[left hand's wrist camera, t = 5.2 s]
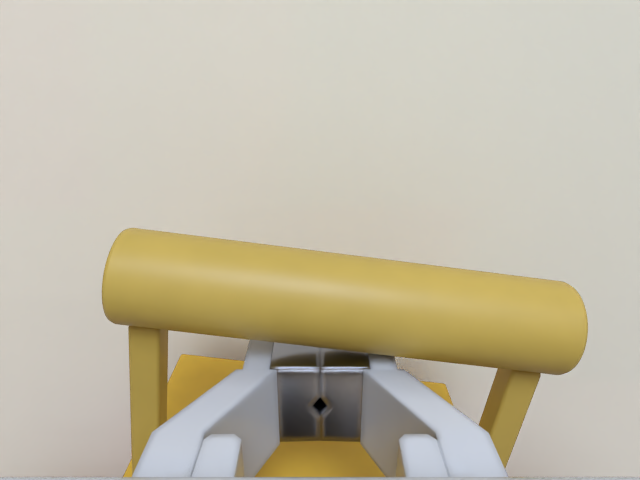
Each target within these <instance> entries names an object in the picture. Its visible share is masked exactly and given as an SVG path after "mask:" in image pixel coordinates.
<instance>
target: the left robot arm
mask: <svg viewBox="0 0 640 480" xmlns="http://www.w3.org/2000/svg"><path fill="white" fill-rule="evenodd" d="M295 441H345V442H360V444H361V445H362V447H363V448H364V449H365V451H366V452H367V453H368V454H369V456H370V457H371V458H372V460H373V461H374V462H375V464H376V465H377V466H378V467H379V469H380V470H381V471H382V473H383V474H384V475H385V477H255V476H256V474H257V473H258V472H259V470H260V469H261V468H262V467H263V465H264V464H265V463H266V461H267V460H268V459H269V457H270V456H271V455H272V454H273V452H274V451H275V450H276V448H277V447H278V446H279V445H280V442H295ZM0 480H640V477H508V475H507V473H506V470H505V468H504V466H503V464H502V461H501V459H500V457H499V455H498V453H497V450H496V448H495V446H494V444H493V441H492V439H491V437H490V435H489V433H488V432H487V431H486V430H484V429H483V428H482V427H480V426H479V425H478V424H476V423H475V422H474V421H472V420H471V419H470V418H468V417H467V416H466V415H464V414H463V413H462V412H460V411H459V410H457V409H456V408H455V407H453V406H452V405H451V404H449V403H448V402H447V401H445V400H444V399H443V398H441V397H440V396H439V395H437V394H436V393H435V392H433V391H432V390H431V389H429V388H428V387H427V386H425V385H424V384H423V383H421V382H420V381H419V380H417V379H416V378H415V377H413V376H412V375H411V374H409V373H408V372H407V371H405V370H404V369H397V365H396V361H395V357H394V356H389V355H380V354H371V353H363V352H354V351H345V350H337V349H328V348H319V347H311V346H302V345H293V344H285V343H276V342H267V341H259V340H250V341H249V345H248V349H247V353H246V357H245V361H244V365H243V369H236V370H235V371H233V372H232V373H231V374H229V375H228V376H227V377H225V378H224V379H223V380H221V381H220V382H219V383H217V384H216V385H215V386H213V387H212V388H210V389H209V390H208V391H206V392H205V393H204V394H202V395H201V396H200V397H198V398H197V399H196V400H194V401H193V402H192V403H190V404H189V405H188V406H186V407H185V408H184V409H182V410H181V411H180V412H178V413H177V414H176V415H174V416H173V417H172V418H170V419H169V420H168V421H166V422H165V423H163V424H162V425H161V426H159V427H158V428H157V429H155V430H154V431H153V432H152V433H151V435H150V437H149V440H148V442H147V444H146V446H145V448H144V451H143V453H142V455H141V457H140V459H139V462H138V464H137V466H136V468H135V470H134V473H133V475H132V477H0Z"/></svg>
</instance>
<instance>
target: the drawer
mask: <svg viewBox="0 0 640 480" xmlns="http://www.w3.org/2000/svg"><path fill="white" fill-rule="evenodd" d="M102 303H103V309H104V313H105V315H106V317H107V318H108V320H109V321H111V322H113V323H115V324H120V325H129V365H130V405H131V444H132V459H131V461H130V463H129V465H128V467H127V469H126V472H125V474H124V476H123V477H132V475H133V473H134V470H135V468H136V466H137V464H138V462H139V459H140V457H141V455H142V453H143V451H144V448H145V446H146V444H147V442H148V440H149V437H150V435H151V433H152V432H153V431H154V430H155V429H157V428H158V427H159V426H161V425H162V424H163V423H165V422H166V421H168V420H169V419H170V418H172V417H173V416H174V415H176V414H177V413H178V412H180V411H181V410H182V409H184V408H185V407H186V406H188V405H189V404H190V403H192V402H193V401H194V400H196V399H197V398H198V397H200V396H201V395H202V394H204V393H205V392H206V391H208V390H209V389H210V388H212V387H213V386H215V385H216V384H217V383H219V382H220V381H221V380H223V379H224V378H225V377H227V376H228V375H229V374H231V373H232V372H233V371H235V370H236V369H243V365H244V361H239V360H230V359H221V358H212V357H204V356H195V355H186V354H182V355H181V356H180V358H179V360H178V362H177V364H176V367H175V369H174V371H173V373H172V375H171V377H170V379H169V381H168V383H167V367H168V330H172V331H181V332H189V333H198V334H207V335H215V336H224V337H233V338H241V339H250V340H259V341H267V342H276V343H285V344H293V345H302V346H311V347H319V348H328V349H337V350H345V351H354V352H363V353H371V354H380V355H389V356H397V357H406V358H415V359H423V360H432V361H441V362H449V363H458V364H467V365H476V366H484V367H493V368H498V370H497V373H496V376H495V379H494V381H493V384H492V387H491V390H490V393H489V396H488V399H487V402H486V405H485V408H484V411H483V414H482V417H481V420H480V423H479V426H480V427H482V428H483V429H484V430H486V431H487V432H488V433H489V435H490V437H491V439H492V441H493V444H494V446H495V448H496V450H497V453H498V455H499V457H500V459H501V461H502V464H503V466H504V468H505V467H506V465H507V462H508V460H509V457H510V454H511V452H512V449H513V447H514V444H515V441H516V439H517V436H518V433H519V431H520V428H521V426H522V423H523V420H524V418H525V415H526V413H527V410H528V407H529V405H530V402H531V399H532V397H533V394H534V392H535V389H536V386H537V384H538V381H539V379H540V373H545V374H554V375H561V374H564V373H567V372H569V371H571V370H572V369H573V368H574V367H575V366H576V365H577V364H578V362H579V361H580V359H581V357H582V355H583V352H584V350H585V346H586V341H587V333H588V322H587V314H586V309H585V306H584V303H583V301H582V299H581V297H580V295H579V293H578V292H577V291H576V290H575V289H574V288H573V287H572V286H570V285H569V284H567V283H565V282H561V281H554V280H546V279H538V278H530V277H522V276H514V275H506V274H498V273H490V272H482V271H474V270H466V269H458V268H450V267H442V266H434V265H426V264H418V263H410V262H402V261H394V260H386V259H378V258H370V257H362V256H354V255H346V254H338V253H330V252H322V251H314V250H306V249H298V248H290V247H282V246H274V245H266V244H258V243H250V242H242V241H234V240H226V239H218V238H210V237H202V236H194V235H186V234H178V233H170V232H162V231H154V230H146V229H138V228H129V229H126V230H124V231H122V232H121V233H120V234H119V235H118V237H117V238H116V240H115V241H114V243H113V245H112V247H111V250H110V252H109V255H108V258H107V261H106V265H105V269H104V275H103V283H102ZM420 382H421V383H423V384H424V385H425V386H427V387H428V388H429V389H431V390H432V391H433V392H435V393H436V394H437V395H439V396H440V397H441V398H443V399H444V400H445V401H447V402H448V403H449V404H451V405H452V406H453V403H452V401H451V398H450V396H449V393H448V390H447V388H446V385H445V384H442V383H433V382H425V381H420ZM453 407H454V406H453ZM255 477H385V475H384V474H383V473H382V471H381V470H380V469H379V467H378V466H377V465H376V464H375V462H374V461H373V460H372V458H371V457H370V456H369V454H368V453H367V452H366V451H365V449H364V448H363V447H362V445H361V444H360V442H345V441H295V442H280V445H279V446H278V447H277V448H276V450H275V451H274V452H273V454H272V455H271V456H270V457H269V459H268V460H267V461H266V463H265V464H264V465H263V467H262V468H261V469H260V470H259V472H258V473H257V474H256V476H255Z"/></svg>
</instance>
